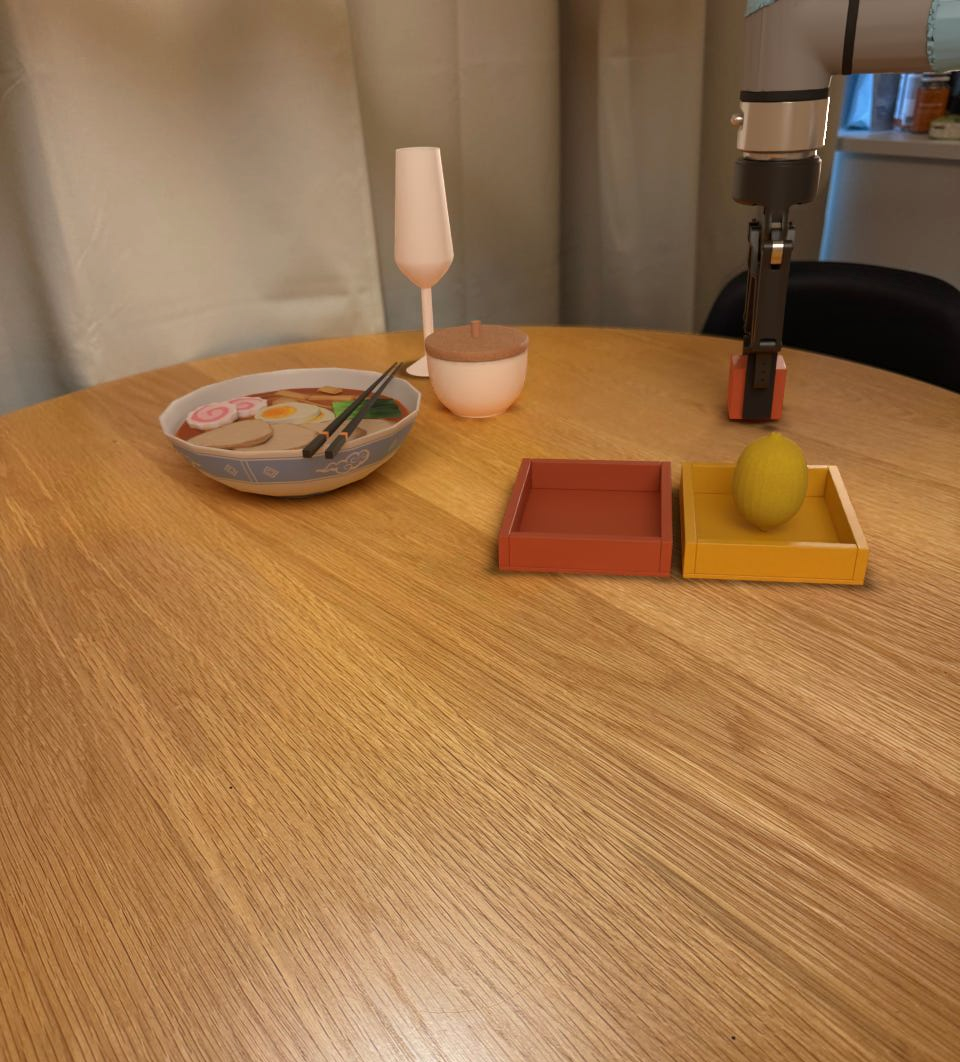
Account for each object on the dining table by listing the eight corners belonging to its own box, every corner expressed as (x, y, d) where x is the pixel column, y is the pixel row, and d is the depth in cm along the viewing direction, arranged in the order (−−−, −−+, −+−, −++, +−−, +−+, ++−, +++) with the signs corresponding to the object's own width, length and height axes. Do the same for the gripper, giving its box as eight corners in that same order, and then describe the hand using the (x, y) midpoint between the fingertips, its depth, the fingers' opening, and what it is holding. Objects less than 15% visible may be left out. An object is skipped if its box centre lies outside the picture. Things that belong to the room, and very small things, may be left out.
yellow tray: (831, 500, 84) (837, 465, 83) (862, 588, 71) (870, 549, 70) (679, 495, 86) (681, 461, 85) (682, 580, 73) (685, 542, 72)
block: (776, 403, 103) (781, 354, 101) (781, 419, 99) (786, 369, 97) (726, 403, 104) (730, 354, 102) (729, 419, 100) (733, 369, 97)
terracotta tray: (668, 495, 86) (670, 461, 85) (669, 580, 73) (672, 541, 72) (523, 491, 88) (522, 457, 87) (498, 573, 75) (497, 535, 74)
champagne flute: (391, 374, 120) (373, 151, 107) (425, 360, 124) (412, 145, 112) (436, 382, 116) (423, 153, 104) (470, 367, 121) (461, 146, 108)
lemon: (787, 552, 75) (801, 450, 71) (716, 536, 78) (726, 437, 74) (810, 524, 79) (824, 426, 75) (742, 510, 82) (753, 415, 78)
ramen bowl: (240, 431, 104) (227, 352, 100) (455, 440, 100) (451, 358, 95) (119, 535, 83) (96, 441, 79) (384, 552, 79) (375, 453, 75)
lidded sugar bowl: (482, 435, 101) (479, 340, 96) (408, 414, 107) (401, 324, 102) (549, 407, 107) (550, 317, 102) (476, 389, 114) (473, 303, 109)
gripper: (729, 145, 98) (712, 381, 110) (741, 167, 83) (720, 439, 95) (809, 142, 97) (783, 381, 109) (837, 164, 81) (803, 439, 93)
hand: (754, 407), depth 102 cm, fingers closed on block, 5 cm apart
